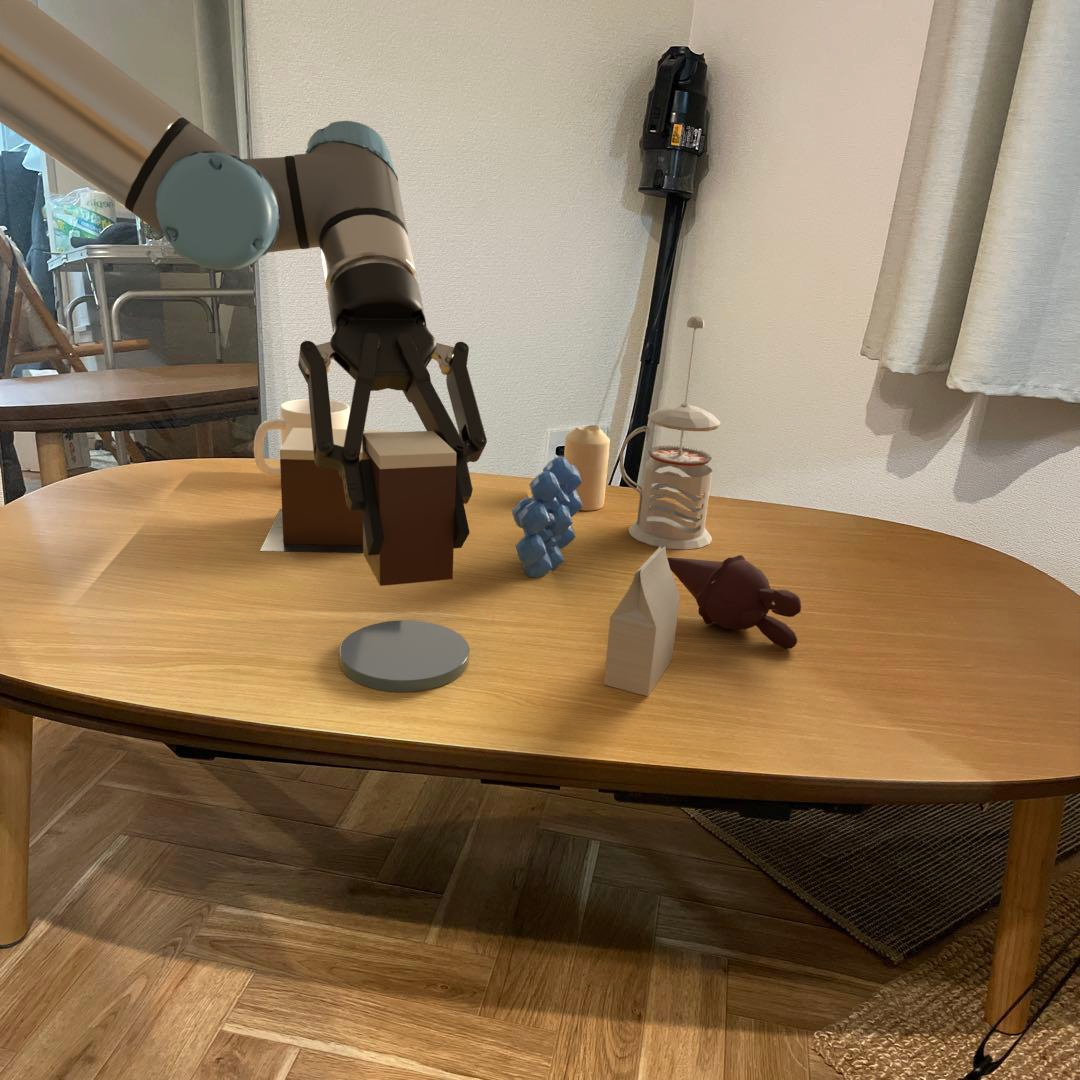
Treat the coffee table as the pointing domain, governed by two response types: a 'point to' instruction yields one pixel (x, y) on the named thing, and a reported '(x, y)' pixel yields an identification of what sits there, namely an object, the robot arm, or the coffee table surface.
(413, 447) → the cake slice
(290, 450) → the cake
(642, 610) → the beige milk carton
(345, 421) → the cup
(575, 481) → the grapes
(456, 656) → the plate
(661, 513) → the french press
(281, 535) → the cake board
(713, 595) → the icecream
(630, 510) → the coffee table surface
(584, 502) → the candle
